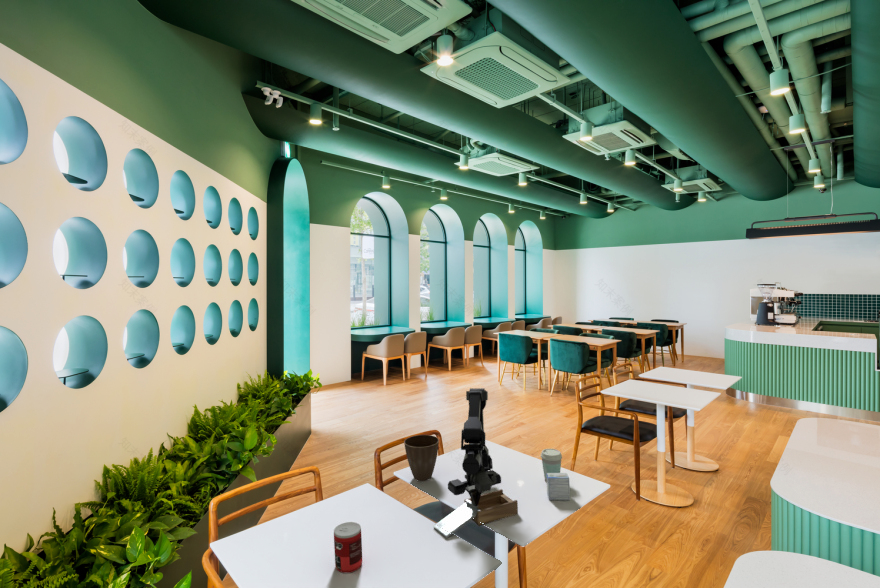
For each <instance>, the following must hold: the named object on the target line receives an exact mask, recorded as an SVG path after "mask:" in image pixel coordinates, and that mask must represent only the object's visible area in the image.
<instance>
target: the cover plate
mask: <svg viewBox="0 0 880 588" xmlns="http://www.w3.org/2000/svg"><path fill="white" fill-rule="evenodd" d="M466 499H467V500H465V499H464V500H465V501H466V503H463V504H462V505H460V506H459V507H457V508H456V509H455V510H453V511H452V512H451V513H449V514H448V515H446V516H445V517H444V518H442V519H441V520H440V521H438V522H436V523H435V524H436V525H435V524H434V525H433V528H434V530H436V531H437V532H438V533H440V534H441V535H442V536H444V538H446V539H448V538H449V537H450V536H452V534H454V533H456V532H457V531H458V530H459V529H461V528H462V527H463V526H465V525H466V524H467V523H468V522H470V521H471V520H472V519H473V518H474V517H475V516H477V512H478V511H481V510H480V509H479V508H478V505H476V504H474V503H473V502H471V501H469V500H468V499H469V498H466ZM437 525H438V526H437ZM439 526H440V527H441V528H440V527H439ZM442 528H443V529H442ZM445 530H446V531H445ZM447 531H448V532H447ZM450 533H451V534H450Z"/></svg>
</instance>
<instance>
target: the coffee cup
mask: <svg viewBox="0 0 880 588" xmlns="http://www.w3.org/2000/svg"><path fill="white" fill-rule="evenodd" d="M540 458H541V462H542V463H541V464H542V469H543V477H544V481H545V483H547V475H546V473H561V468H562V459H563V455H562V453H561V451H560V450H558V449H556V448H544V449H542V450H541V453H540Z"/></svg>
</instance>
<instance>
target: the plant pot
mask: <svg viewBox="0 0 880 588" xmlns="http://www.w3.org/2000/svg"><path fill="white" fill-rule="evenodd" d="M403 443H404V449H405V454H406V459H407V463H408V465H409V468H410V472H411V474H412V476H413V478H414V480H416V481H417V480H418V482H426V481H429V480H431V478H432V477H433V474H434V469H435V467H436V462H437V457H438V452H439V443H440V439H439V438H438V437H437V436H435V435H430V434H417V435H412V436H409V437H407V438H405V439H404V441H403Z"/></svg>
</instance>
